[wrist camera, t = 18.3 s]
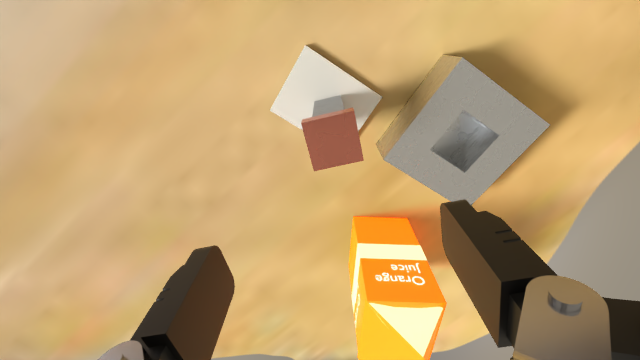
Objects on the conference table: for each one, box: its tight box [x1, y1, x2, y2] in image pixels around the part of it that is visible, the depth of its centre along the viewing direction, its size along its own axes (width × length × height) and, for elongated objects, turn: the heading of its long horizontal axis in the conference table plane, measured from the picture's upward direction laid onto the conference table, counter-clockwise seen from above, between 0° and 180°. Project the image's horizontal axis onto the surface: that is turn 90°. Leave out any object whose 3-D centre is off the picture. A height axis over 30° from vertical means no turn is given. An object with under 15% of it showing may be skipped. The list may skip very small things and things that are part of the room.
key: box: [301, 95, 364, 171], centre depth 29 cm, size 4×4×11 cm
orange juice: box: [349, 217, 447, 360], centre depth 34 cm, size 8×9×20 cm
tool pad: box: [270, 45, 382, 131], centre depth 34 cm, size 10×8×1 cm
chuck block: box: [376, 55, 550, 205], centre depth 33 cm, size 12×12×5 cm
